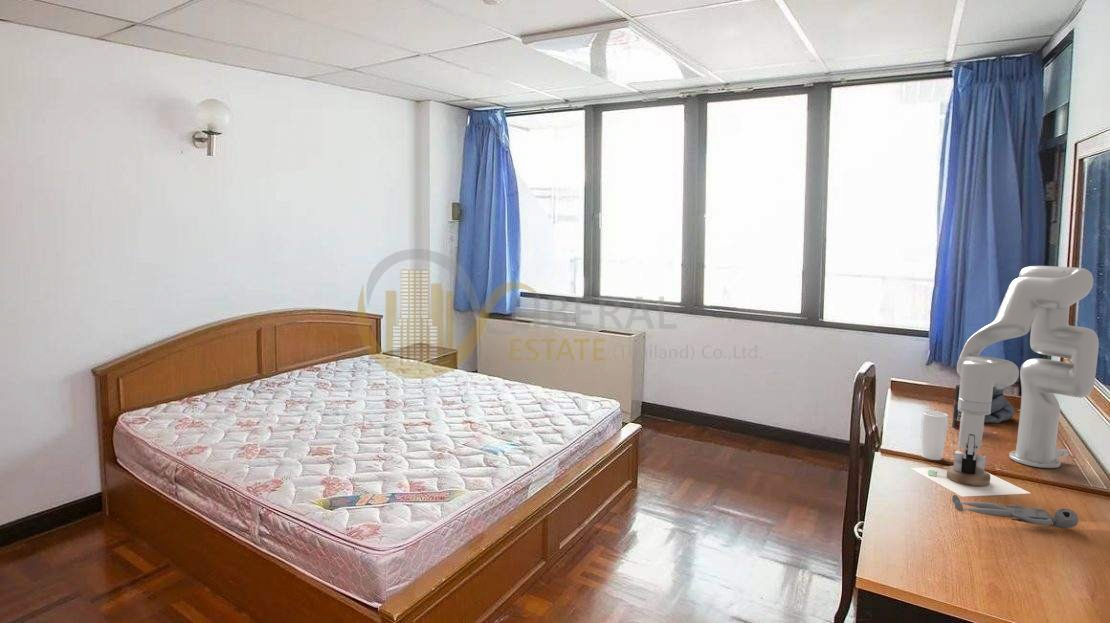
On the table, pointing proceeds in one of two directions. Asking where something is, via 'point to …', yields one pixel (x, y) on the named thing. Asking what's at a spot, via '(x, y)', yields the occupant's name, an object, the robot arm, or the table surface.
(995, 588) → the table surface
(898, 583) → the table surface
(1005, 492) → the white square board
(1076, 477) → the table surface
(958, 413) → the deodorant
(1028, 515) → the alien figure
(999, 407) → the koala plush
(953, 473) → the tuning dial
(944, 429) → the white cup
